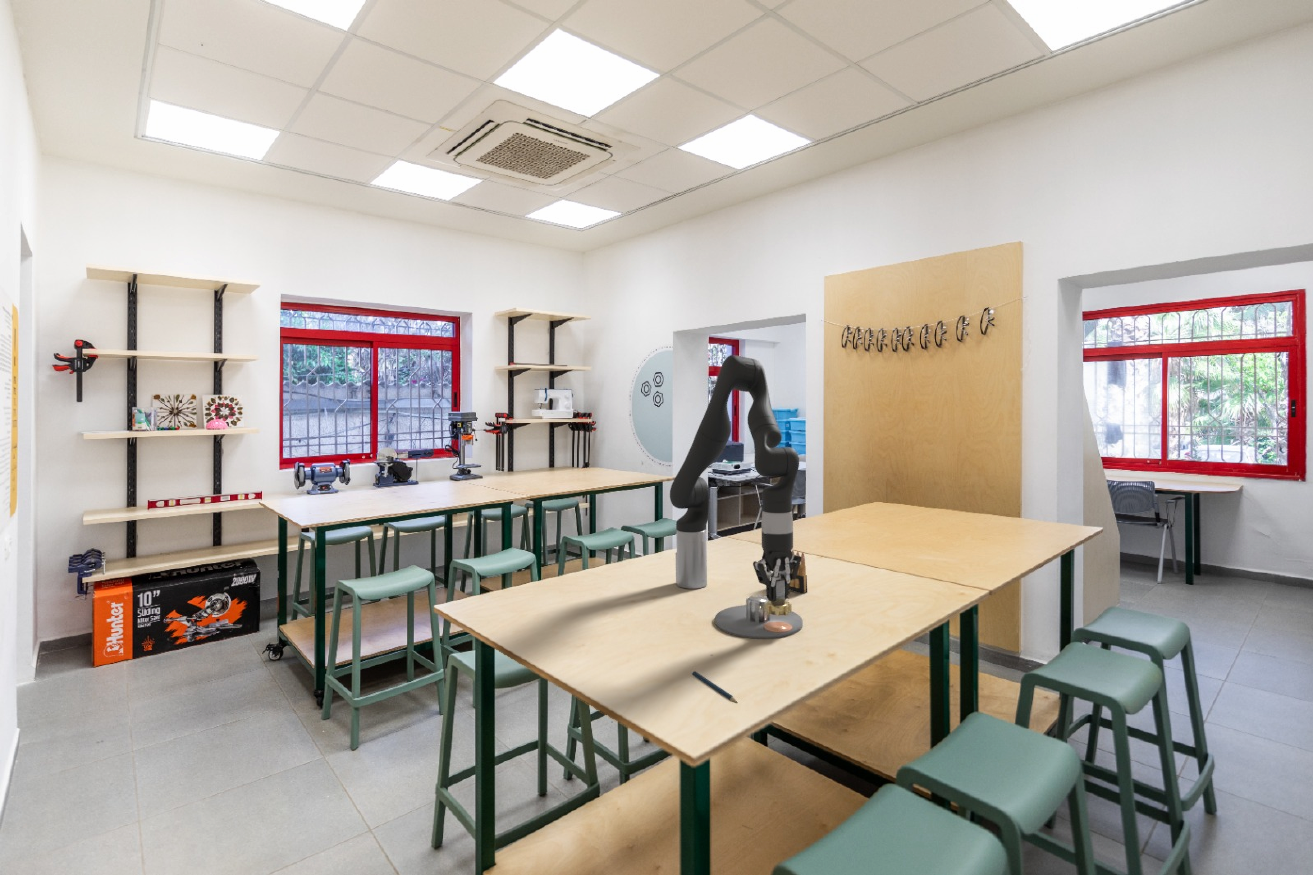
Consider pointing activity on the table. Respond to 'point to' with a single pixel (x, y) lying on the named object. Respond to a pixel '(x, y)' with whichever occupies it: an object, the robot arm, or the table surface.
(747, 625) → the carrier plate
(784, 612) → the planet gear
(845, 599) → the table surface
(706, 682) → the pencil
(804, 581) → the ammunition clip
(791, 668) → the table surface
